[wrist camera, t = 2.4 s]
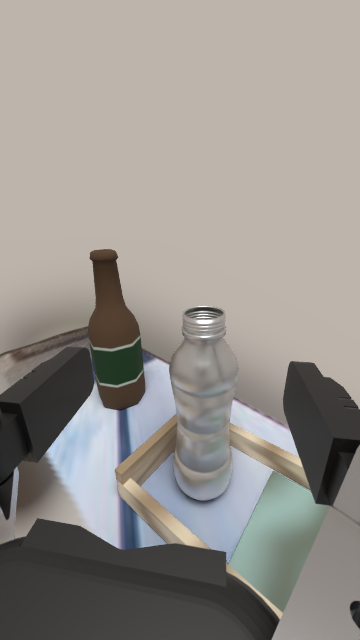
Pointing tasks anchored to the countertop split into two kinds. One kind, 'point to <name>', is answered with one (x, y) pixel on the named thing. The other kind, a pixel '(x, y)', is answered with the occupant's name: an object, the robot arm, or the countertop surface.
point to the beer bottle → (114, 338)
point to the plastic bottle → (203, 403)
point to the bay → (264, 525)
